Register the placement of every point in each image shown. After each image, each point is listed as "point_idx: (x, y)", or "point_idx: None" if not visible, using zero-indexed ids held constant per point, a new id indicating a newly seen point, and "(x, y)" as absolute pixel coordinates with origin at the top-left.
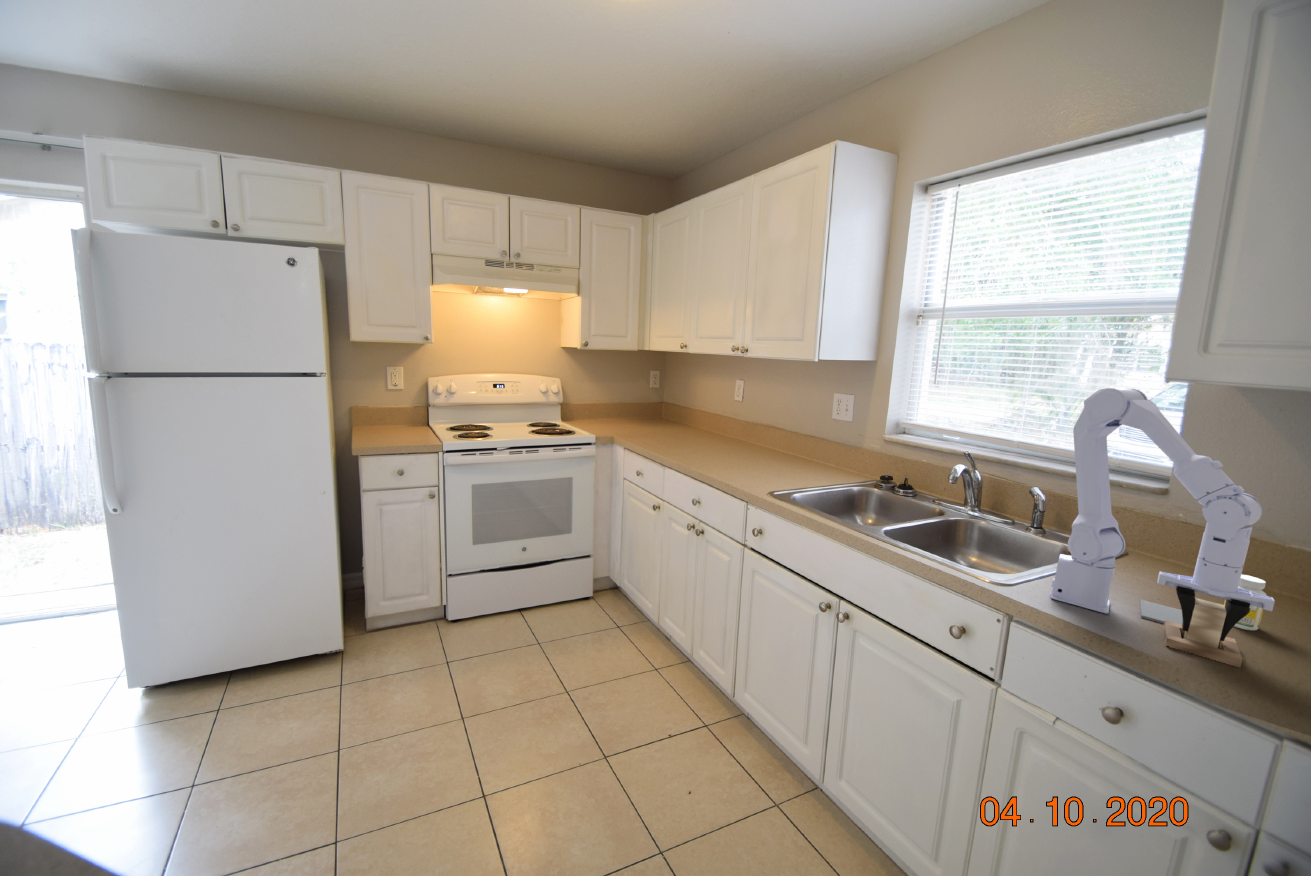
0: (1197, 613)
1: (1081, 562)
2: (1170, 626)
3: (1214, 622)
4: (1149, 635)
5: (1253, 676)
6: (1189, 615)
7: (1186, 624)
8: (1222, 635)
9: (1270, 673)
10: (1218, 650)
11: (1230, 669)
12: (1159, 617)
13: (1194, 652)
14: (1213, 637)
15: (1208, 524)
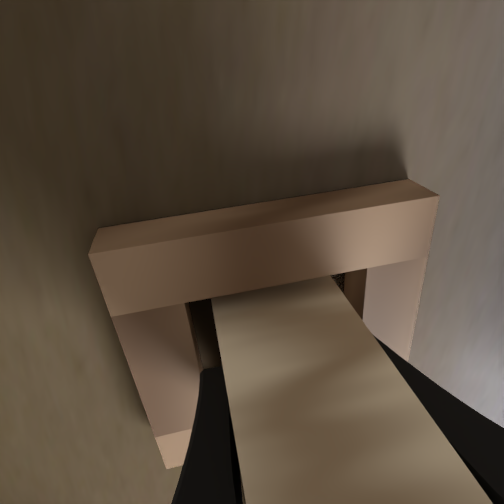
0: (423, 448)
1: None
2: None
3: (293, 438)
4: (449, 251)
5: (17, 157)
6: (434, 412)
7: (390, 358)
8: (215, 392)
9: None
10: (208, 269)
11: (129, 147)
12: None
13: (297, 201)
14: (250, 347)
15: None
